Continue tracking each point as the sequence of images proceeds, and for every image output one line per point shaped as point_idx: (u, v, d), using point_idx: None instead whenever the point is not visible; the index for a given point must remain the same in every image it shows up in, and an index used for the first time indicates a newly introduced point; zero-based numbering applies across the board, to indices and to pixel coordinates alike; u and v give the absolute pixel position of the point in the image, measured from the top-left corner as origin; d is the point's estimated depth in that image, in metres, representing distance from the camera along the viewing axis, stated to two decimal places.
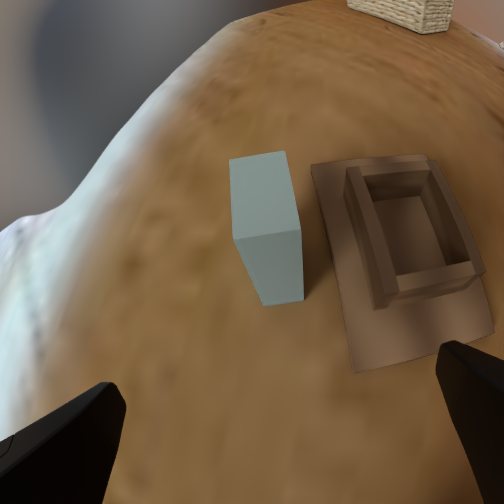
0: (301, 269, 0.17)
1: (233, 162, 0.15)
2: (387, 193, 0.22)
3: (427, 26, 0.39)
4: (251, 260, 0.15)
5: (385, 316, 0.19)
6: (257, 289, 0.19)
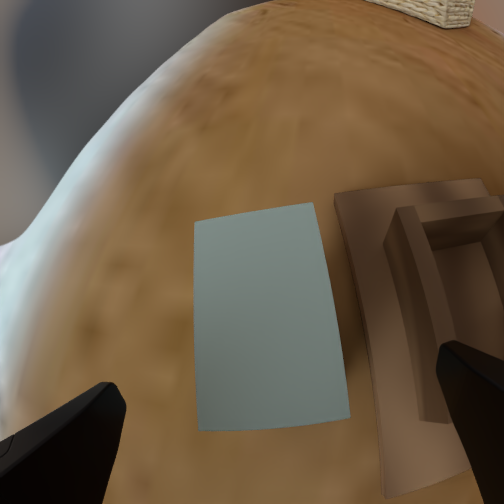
0: None
1: (203, 228, 0.07)
2: (445, 242, 0.14)
3: (450, 20, 0.31)
4: None
5: (434, 425, 0.11)
6: None
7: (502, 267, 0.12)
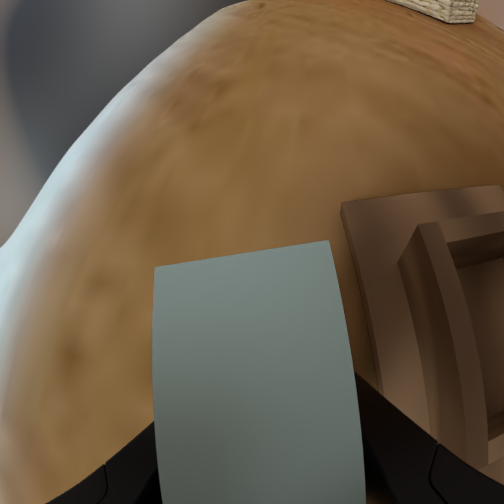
0: None
1: (165, 279, 0.05)
2: (467, 260, 0.12)
3: (454, 14, 0.28)
4: None
5: None
6: None
7: None
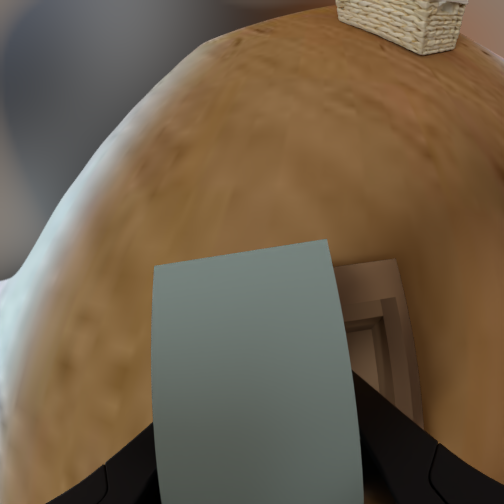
0: None
1: (164, 277, 0.05)
2: None
3: (429, 45, 0.34)
4: None
5: None
6: None
7: (380, 360, 0.17)
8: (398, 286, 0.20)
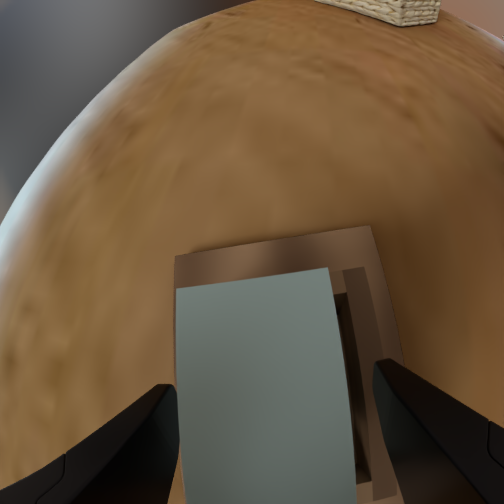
0: None
1: (186, 299, 0.06)
2: None
3: (407, 16, 0.31)
4: None
5: None
6: None
7: (349, 356, 0.13)
8: (374, 259, 0.16)
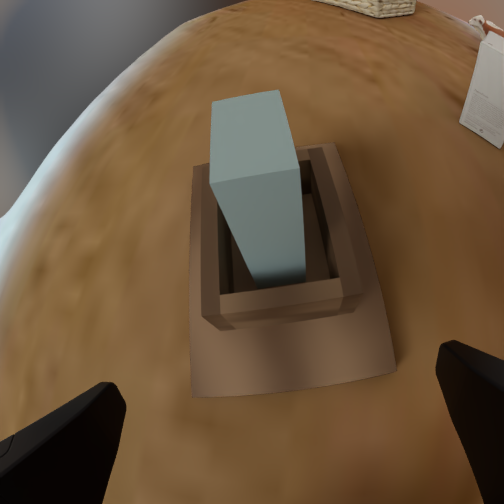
0: (302, 235, 0.13)
1: (216, 104, 0.12)
2: None
3: (385, 9, 0.37)
4: (236, 218, 0.12)
5: (234, 338, 0.17)
6: (248, 263, 0.15)
7: (318, 210, 0.19)
8: (337, 161, 0.22)
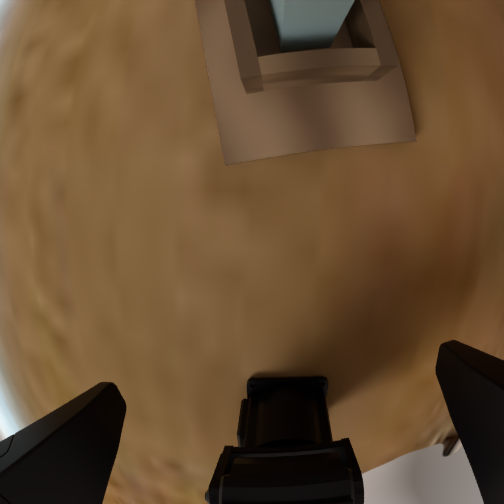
0: (349, 6, 0.09)
1: None
2: None
3: None
4: None
5: (262, 100, 0.16)
6: (284, 27, 0.11)
7: None
8: None
